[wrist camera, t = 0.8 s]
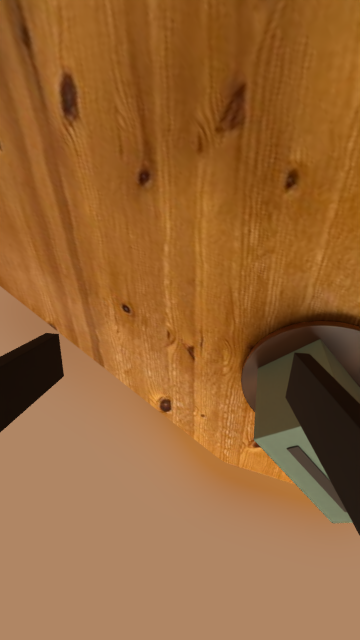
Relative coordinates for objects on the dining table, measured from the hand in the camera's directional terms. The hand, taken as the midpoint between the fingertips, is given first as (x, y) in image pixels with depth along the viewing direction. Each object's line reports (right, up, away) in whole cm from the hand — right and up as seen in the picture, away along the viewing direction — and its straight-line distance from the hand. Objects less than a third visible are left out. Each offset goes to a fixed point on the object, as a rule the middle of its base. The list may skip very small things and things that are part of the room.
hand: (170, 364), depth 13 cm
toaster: (+19, -6, +18) cm, 26 cm away
